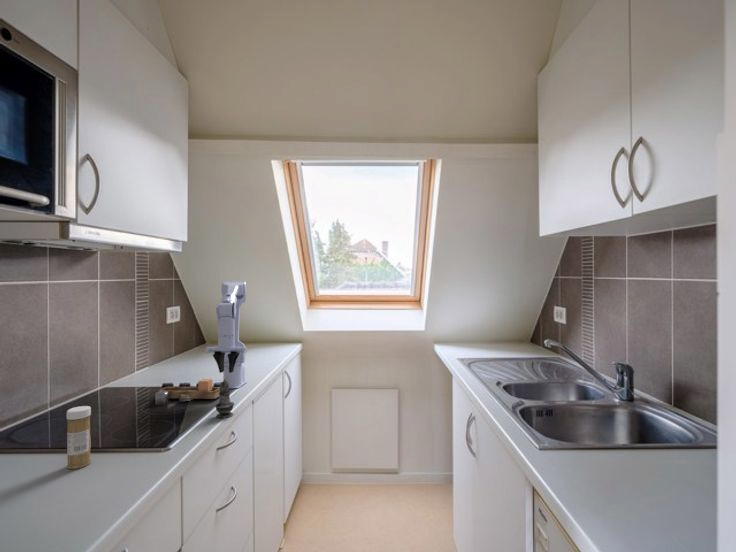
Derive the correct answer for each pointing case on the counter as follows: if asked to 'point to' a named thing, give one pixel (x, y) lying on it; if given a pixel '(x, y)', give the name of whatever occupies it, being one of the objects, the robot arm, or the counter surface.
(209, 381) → the orange block
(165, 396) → the weight
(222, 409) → the dark grey turned ornament
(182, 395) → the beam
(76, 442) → the sprinkles bottle
